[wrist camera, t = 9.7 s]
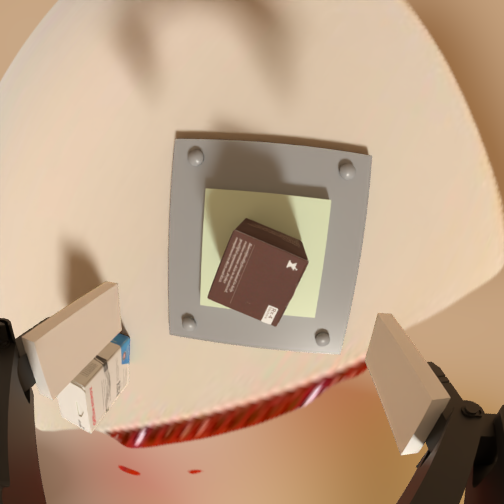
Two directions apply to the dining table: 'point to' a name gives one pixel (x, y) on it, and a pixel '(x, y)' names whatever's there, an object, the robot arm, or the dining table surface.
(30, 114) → the dining table surface
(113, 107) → the dining table surface
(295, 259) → the box
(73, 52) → the dining table surface
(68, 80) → the dining table surface
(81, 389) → the ink box
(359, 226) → the board
